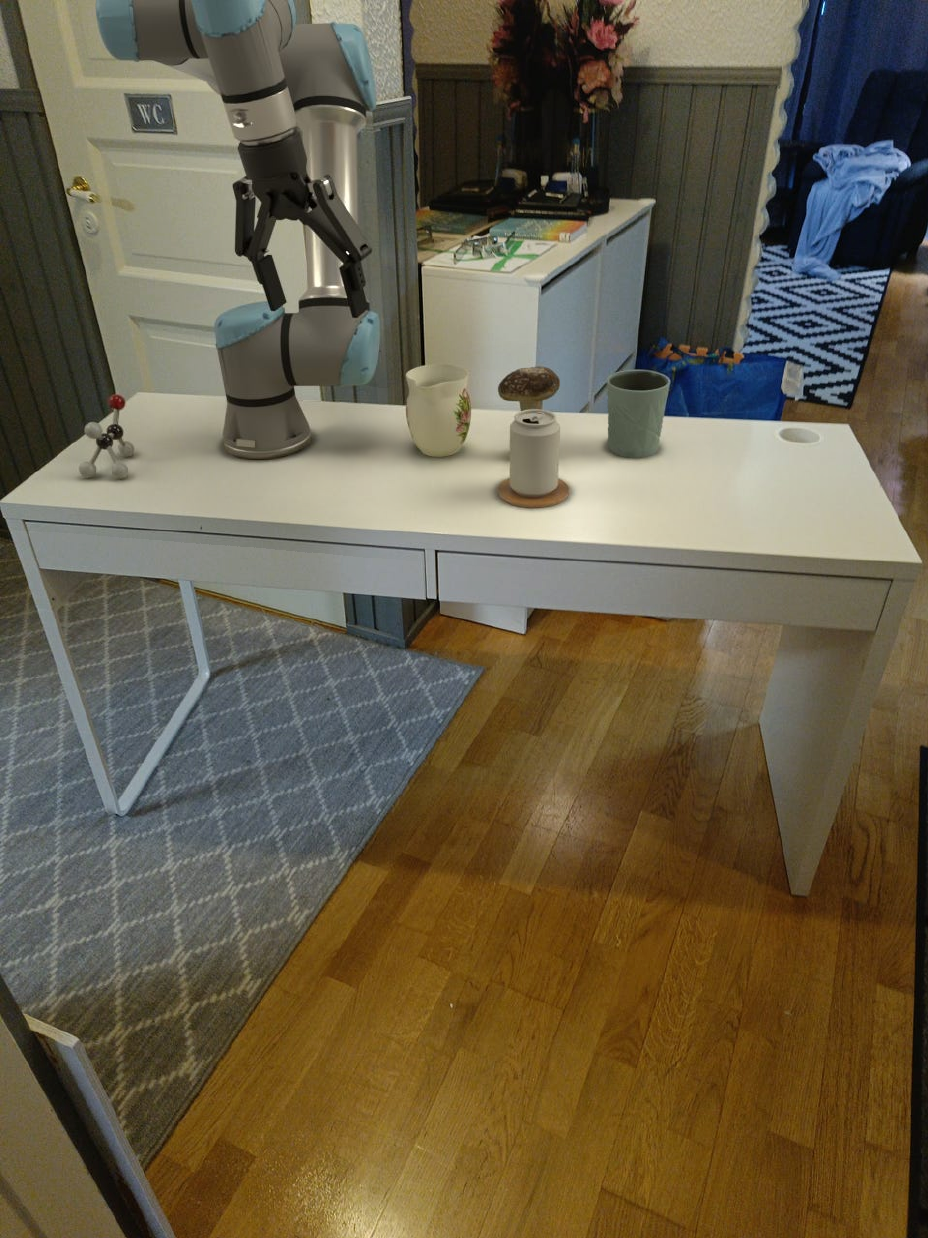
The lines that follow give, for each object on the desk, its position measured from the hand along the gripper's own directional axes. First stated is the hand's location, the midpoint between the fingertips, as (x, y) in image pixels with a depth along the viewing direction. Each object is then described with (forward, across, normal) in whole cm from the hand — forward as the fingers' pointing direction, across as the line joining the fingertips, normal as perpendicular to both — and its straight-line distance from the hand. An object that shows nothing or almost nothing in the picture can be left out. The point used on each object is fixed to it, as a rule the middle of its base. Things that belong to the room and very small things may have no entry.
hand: (318, 310), depth 116 cm
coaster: (+34, +21, +13) cm, 42 cm away
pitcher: (+35, 0, +21) cm, 41 cm away
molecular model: (+26, -46, -9) cm, 54 cm away
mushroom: (+37, +15, +24) cm, 46 cm away
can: (+34, +21, +13) cm, 42 cm away
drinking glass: (+40, +29, +35) cm, 60 cm away
